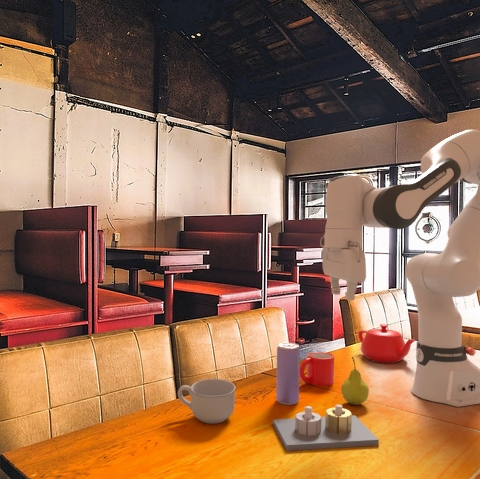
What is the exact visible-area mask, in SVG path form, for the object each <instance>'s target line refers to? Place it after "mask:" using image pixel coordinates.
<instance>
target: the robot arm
mask: <svg viewBox="0 0 480 479" xmlns="http://www.w3.org/2000/svg"><path fill="white" fill-rule="evenodd" d="M420 171H421V175H419V176H418V177H417V178H415V179H413V181H411V182H410V183H406V184H403V183H402V184H396V185H391V186H386V187H380V188H379V187H377V186H373V185H371V184H370V183H368V182H367V181H365V180H364V179H363V178H362V177H361V175H359V174H357V173H350V174H344V175H338V176H335V177H332V178H331V179H330V180H329V181H328V183H327V187H326V194H325V214H326V224H325V229H324V231H325V232H324V235H323V236H322V237H321V238H320V241H319V242H320V243H319V244H320V247H322V250H321V257H322V260H321V262H322V263H321V264H322V271H323V273H324V275H325V276H329V282H330V286H331V293H332V295H335V296H337V295H340V294H341V287H340V280H342V281H345V282H346V286H347V288H346V291H345V293H344V294H345V295H344V296H345V297H344V299H345V300H347V301H354V300H355V298H356V294H355V293H356V292H357V287H358V283H364V282H366V279H367V265H366V264H367V263H366V254H365V251H364V250H363V249H362V248H363V226H364V227H368V228H377V229H378V228H382V229H383V228H386V229H387V228H388V229H392V230H393V229H394V230H402V229H407V228H409V227H410V226H411V225H413V224H414V223H415V222H416V220H417V219H418V217H419V216H420V214H421V213H422V211H424V209H425V207H427V206H428V205H429V204H430V203H432V201H434V200H435V199H436V198H438V197H439V196H441V195H442V194H444V193H445V191H447V190H448V189H450V188H451V187H452V186H453V185H454V184H456V183H458V182H460V181H461V182H463V183H467V184H470V185H471V184H474V185H478V186H477V190H476V193H475V195H474V196H472V198H471V199H470V200H469V201H468V202H467V203H466V205H465V206H464V207H463V209H462V210H461V211H460V213H459V214H458V215H457V217H456V218H455V219H454V221H453V222H452V223H451V225H450V226H449V227H448V229H447V237H448V240H447V243H446V246H445V248H444V249H443V250H442V251H441V253H435V252H434V253H433V252H425V253H421V254H416V255H415V256H412V257H411V258H410V259H409V260H408V261H407V263H406V266H405V276H406V279H407V280H408V281H409V283H410V285H411V288H412V291H413V295H414V299H415V303H416V308H417V314H418V320H417V321H418V323H417V324H418V325H417V326H418V334H417V335H418V338H417V339H418V340H416V347H415V348H416V349H415V350H416V353H415V356H416V357H415V358H416V368H415V369H416V370H415V376H414V379H413V384H412V387H411V388H410V390H411V393H412V394H413V395H415V396H416V397H418V398H421V399H423V400H426V401H430V402H435V403H441V404H445V405H450V406H453V407H466V406H472V405H479V404H480V368H479V367H478V366H477V365H476V364H475V363H473V362H472V361H471V360H469V359H468V355H469V356H470V357H471V356H472V357H473V356H475V354H476V352H477V351H476V350H475V348H473V347H470V346H467V347H466V346H465V345H463V344H462V340H463V339H462V338H463V337H462V334H463V318H462V315H461V313H460V311H458V309H457V307H456V305H455V304H456V303H455V302H454V298H464V297H470V296H472V295H474V294H475V293H476V292H477V291H478V290H479V289H480V130H478V129H467V130H464V131H461V132H459V133H456V134H454V135H451V136H450V137H448V138H445V139H443V140H442V141H440V142H439V143H438V144H437V143H436V145H434V146H433V147H432V148H429V150H427V151H426V153H424V154H423V155H422V157H421V159H420Z"/></svg>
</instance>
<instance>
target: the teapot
mask: <svg viewBox="0 0 480 479" xmlns="http://www.w3.org/2000/svg"><path fill="white" fill-rule="evenodd" d="M379 326H380V328H372V329H368V330H363V329H362V330H359V331H358V333H357V335H358V339H359V341H360V343H361V345H360V351H361V353H362V354H363V355H364V357H366V358H367V359H369V360H370V361H372V362H377V363H380V364H381V363H382V364H393V363H394V364H395V363H398V362H399V361H402V360H404V358H405V357H406V356H407V355H409V353H410V350H411V345H412V344H413V343H414V342H415V341H416V342H417V340H416V339H411V338H410V339H409V338H408V340H407V341H406V342H405V340H404V338H403V335H402V333H400V331H397V330H394V329H387V328H388V327H389V325H388V324H387V323H386V324H385V323H383V324H382V323H381V324H379ZM363 334H365V335H364V336H363Z"/></svg>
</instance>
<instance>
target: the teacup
mask: <svg viewBox="0 0 480 479" xmlns="http://www.w3.org/2000/svg"><path fill="white" fill-rule="evenodd" d="M236 388H237V387H236V385H235V384H234V383H233V382H232V381H230V380H227V379H222V378H221V379H220V378H205V379H200V380H198V381H196V382H194V383H193V384H191V386H190V385H187V384H183V385H181V386H180V387H179V389H178V390H177V397H178V400H180V402H181V403H182V404H184V405H186V406H187V407H188V409H189V410H191V411H192V412H191V413H192V414H193V416H194V417H195V418H196V419H198V420H199V421H200V422H202V423H205V424H209V425H210V424H211V425H214V424H220V423H223V422H225V421H226V420H227V419H228V418H230V417H231V415H232V414H234V410H235V403H236ZM185 390H186V391H187V392H188V394H189V396H190V401H189V400H188V399H187V398H185V397H184V395H183V391H185Z"/></svg>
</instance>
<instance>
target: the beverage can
mask: <svg viewBox="0 0 480 479" xmlns="http://www.w3.org/2000/svg"><path fill="white" fill-rule="evenodd" d="M300 352H301V351H300V346H299V344H298V343H294V342H281V343H280V342H279V343H278V344H277V347H276V383H275V384H276V388H275V389H276V392H275V393H276V394H275V395H276V396H275V397H276V398H275V399H276V401H277V402H278V403H279V404H281V405H285V406H293V405H296V404H298V402H299V400H300V375H299V370H300Z"/></svg>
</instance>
